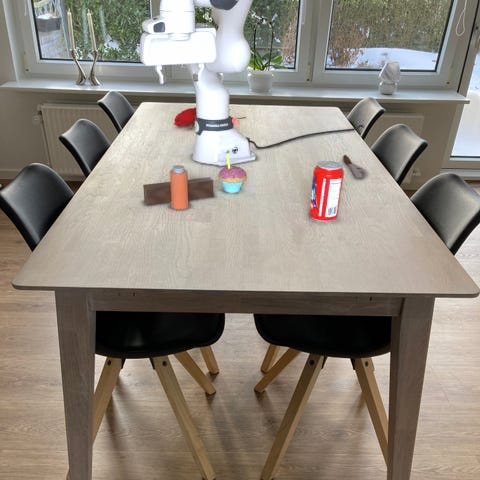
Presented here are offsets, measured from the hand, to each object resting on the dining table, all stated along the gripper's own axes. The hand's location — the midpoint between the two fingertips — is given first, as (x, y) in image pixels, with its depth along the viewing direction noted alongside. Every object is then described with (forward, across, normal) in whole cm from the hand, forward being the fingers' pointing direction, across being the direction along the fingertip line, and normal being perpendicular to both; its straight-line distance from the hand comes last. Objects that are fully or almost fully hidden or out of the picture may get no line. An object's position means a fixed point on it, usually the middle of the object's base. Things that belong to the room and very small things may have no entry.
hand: (180, 82), depth 141 cm
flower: (+32, -34, -64) cm, 79 cm away
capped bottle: (+30, +6, +12) cm, 33 cm away
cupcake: (+30, -14, +5) cm, 34 cm away
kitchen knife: (+31, -62, 0) cm, 69 cm away
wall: (+30, +4, +7) cm, 31 cm away
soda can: (+30, -29, +33) cm, 53 cm away
